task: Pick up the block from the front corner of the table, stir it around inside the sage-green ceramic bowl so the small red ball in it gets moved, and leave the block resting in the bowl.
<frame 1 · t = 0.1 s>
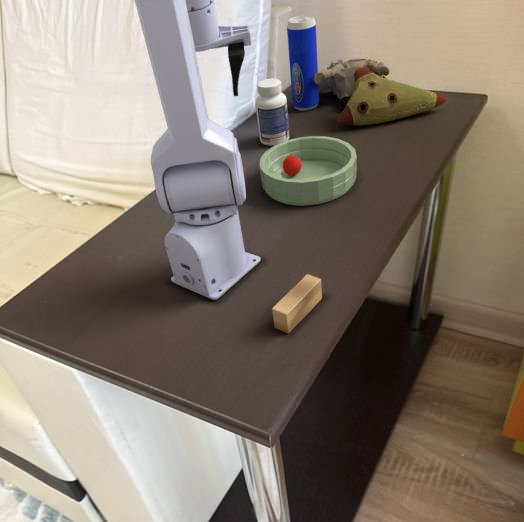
hand: (212, 96, 84), 11 cm above the table, tool pointing down, fingers open, 7 cm apart
bowl: (308, 181, 82), on the table
figurine: (352, 85, 94), point 5 cm above the table
block: (298, 313, 61), on the table
blue canister: (306, 107, 103), on the table
ocarina: (394, 120, 93), on the table
pill bottle: (275, 140, 94), on the table
ball: (292, 165, 82), point 2 cm above the table, touching bowl
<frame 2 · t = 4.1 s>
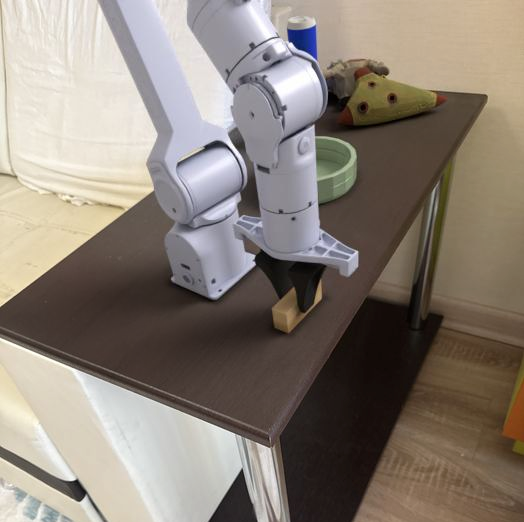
hand: (298, 303, 60), 1 cm above the table, tool pointing down, fingers closed on block, 2 cm apart
block: (298, 312, 61), on the table, touching gripper
everything else where it was.
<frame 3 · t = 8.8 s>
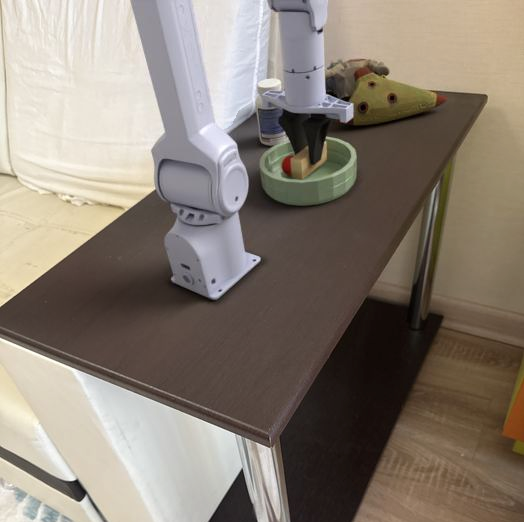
hand: (309, 160, 81), 3 cm above the table, tool pointing down, fingers closed on block, 2 cm apart
block: (309, 168, 82), point 2 cm above the table, touching gripper
ball: (291, 165, 82), point 2 cm above the table, tilted 7°, touching bowl, gripper
everything else where it was.
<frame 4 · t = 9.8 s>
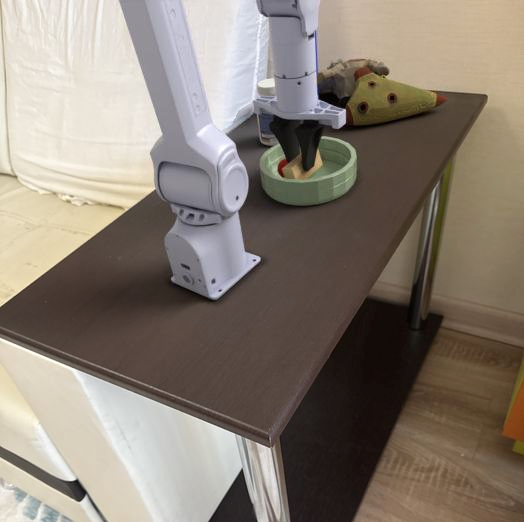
hand: (301, 166, 80), 3 cm above the table, tool pointing down, fingers closed on block, 2 cm apart
block: (305, 175, 81), point 1 cm above the table, tilted 16°, touching gripper
ball: (286, 168, 82), point 2 cm above the table, tilted 37°, touching bowl, gripper
everything else where it was.
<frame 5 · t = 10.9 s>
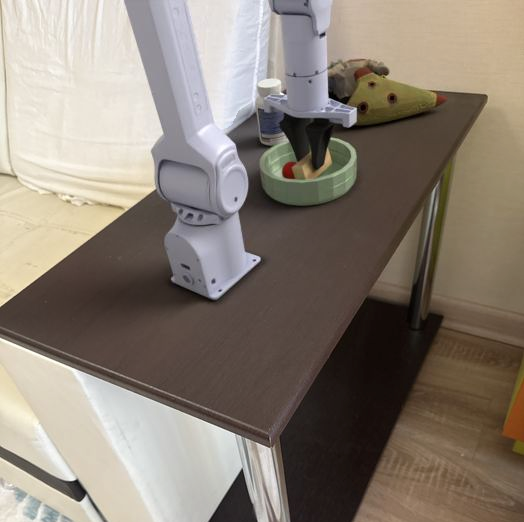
hand: (311, 165, 80), 3 cm above the table, tool pointing down, fingers closed on block, 2 cm apart
block: (315, 174, 81), point 1 cm above the table, tilted 16°, touching gripper
ball: (291, 171, 81), point 2 cm above the table, tilted 61°, touching bowl, gripper
everything else where it was.
when the fingers open (3 cm above the table, at t = 11.4 s): block stays where it is, resting on bowl.
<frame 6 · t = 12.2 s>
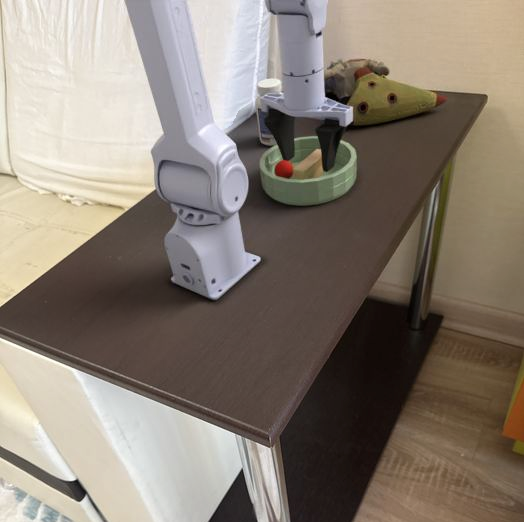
hand: (308, 163, 80), 3 cm above the table, tool pointing down, fingers open, 7 cm apart
block: (311, 178, 82), point 1 cm above the table, touching bowl
ball: (283, 170, 81), point 2 cm above the table, tilted 59°, touching bowl, gripper
everything else where it was.
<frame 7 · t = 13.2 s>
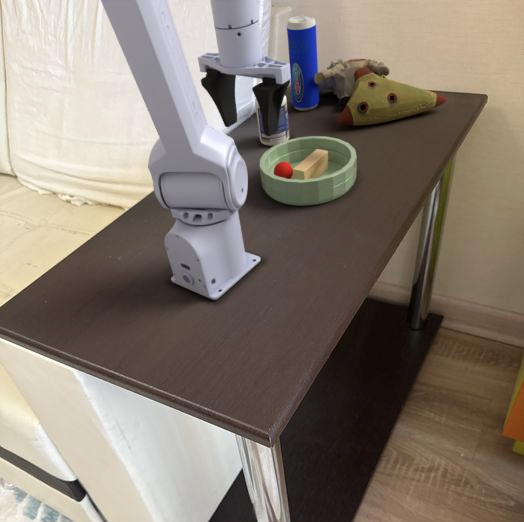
hand: (250, 128, 76), 9 cm above the table, tool pointing down, fingers open, 7 cm apart
ball: (283, 171, 81), point 2 cm above the table, tilted 74°, touching bowl
everything else where it was.
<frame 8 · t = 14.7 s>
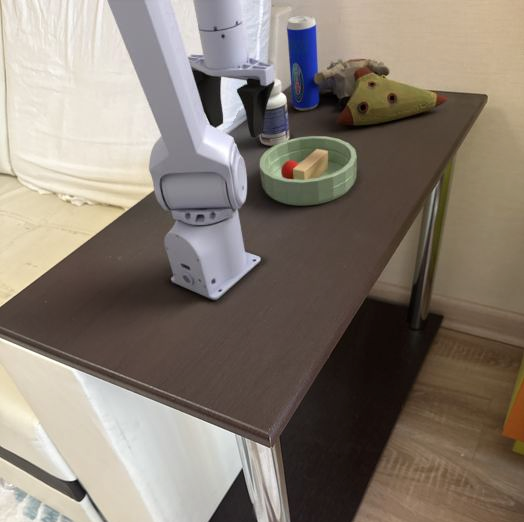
hand: (236, 130, 76), 9 cm above the table, tool pointing down, fingers open, 7 cm apart
ball: (290, 170, 81), point 2 cm above the table, tilted 45°, touching bowl
everything else where it was.
at the end: ball moved 1.7 cm from its start; block inside the target area in the bowl (0.5 cm from its centre), point 0.6 cm above the bowl's base; the gripper is holding nothing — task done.
